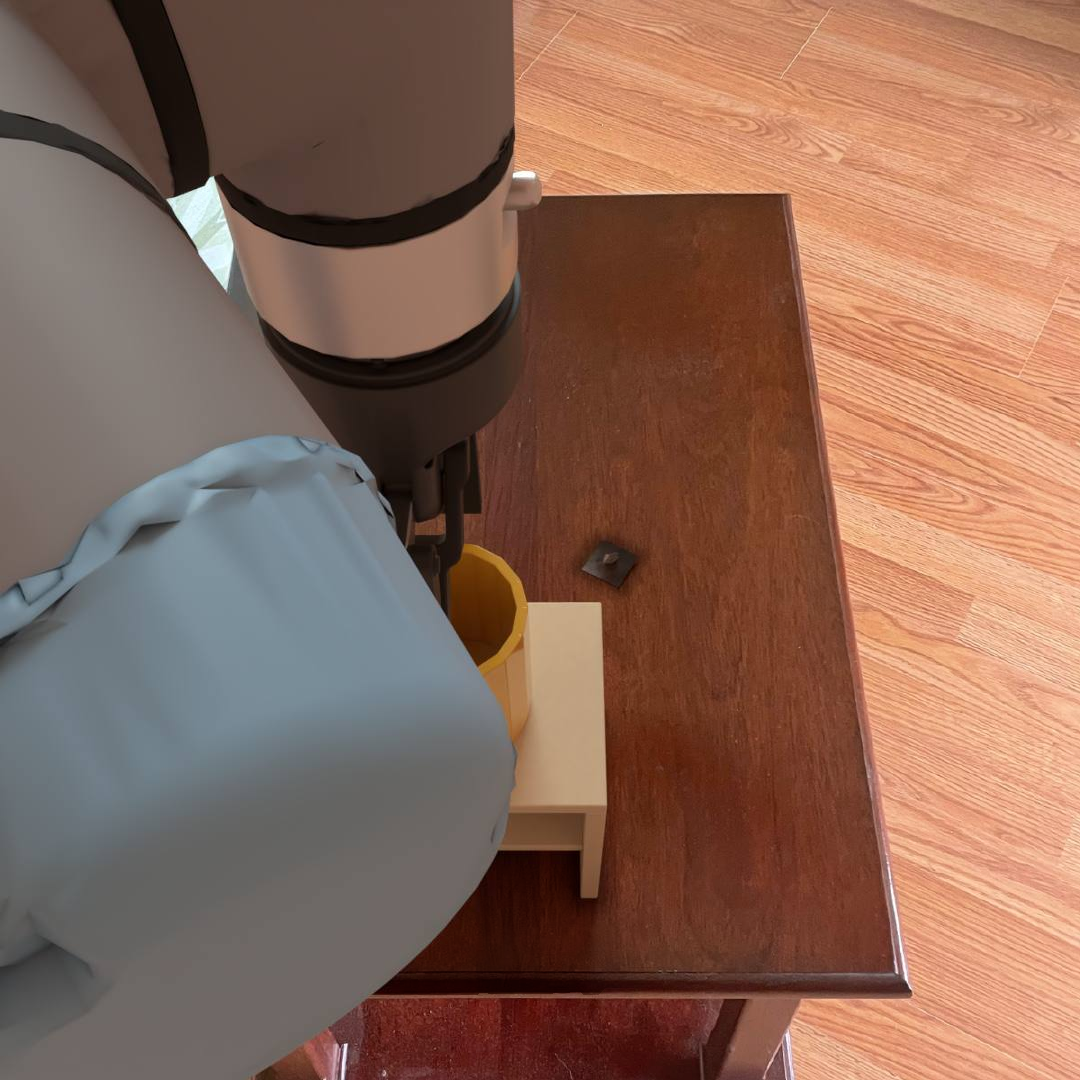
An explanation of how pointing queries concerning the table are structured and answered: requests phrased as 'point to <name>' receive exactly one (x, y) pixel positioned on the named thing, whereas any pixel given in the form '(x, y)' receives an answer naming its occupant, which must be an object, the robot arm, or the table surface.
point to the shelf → (563, 741)
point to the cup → (494, 629)
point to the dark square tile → (610, 563)
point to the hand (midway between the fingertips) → (445, 634)
